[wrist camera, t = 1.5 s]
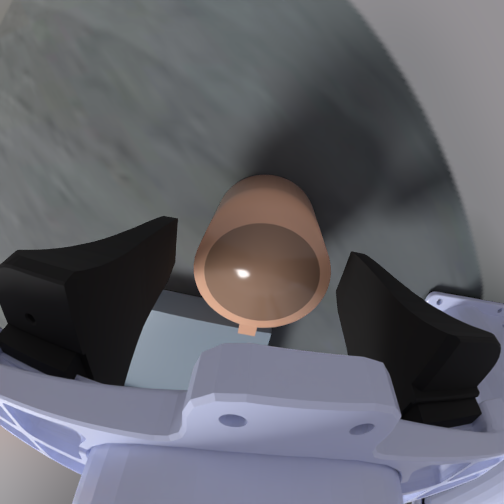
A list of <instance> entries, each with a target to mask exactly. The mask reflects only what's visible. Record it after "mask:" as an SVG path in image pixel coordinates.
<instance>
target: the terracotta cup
mask: <svg viewBox="0 0 504 504" xmlns="http://www.w3.org/2000/svg"><path fill="white" fill-rule="evenodd" d="M194 276H195V281H196V284H197V287H198V289H199V292H200V294H201V295H202V297H203V298H204V300H205V301H206V302H207V303H208V305H209V306H210V307H211V308H213V309H214V310H215V311H216V312H217V313H219V314H220V315H222V316H223V317H225V318H227V319H229V320H231V321H233V322H235V323H238V324H239V328H238V333H239V334H245V335H250V336H255V333H256V330H257V327H258V328H269V327H277V326H283V325H286V324H289V323H292V322H294V321H297V320H299V319H300V318H302V317H304V316H305V315H307V314H308V313H310V312H311V311H312V310H313V309H314V308H315V307H316V306H317V305H318V304H319V303H320V301H321V300H322V298H323V297H324V295H325V293H326V291H327V289H328V286H329V282H330V276H331V266H330V260H329V256H328V253H327V250H326V246H325V243H324V240H323V237H322V234H321V231H320V228H319V225H318V222H317V219H316V216H315V213H314V210H313V207H312V204H311V202H310V200H309V198H308V197H307V195H306V194H305V193H304V191H303V190H302V189H301V188H300V187H298V186H297V185H296V184H295V183H293V182H291V181H289V180H287V179H285V178H283V177H279V176H275V175H255V176H251V177H248V178H245V179H243V180H241V181H239V182H238V183H236V184H235V185H233V186H232V187H231V188H230V189H229V190H228V191H227V192H226V194H225V195H224V196H223V198H222V200H221V202H220V204H219V206H218V208H217V210H216V212H215V214H214V216H213V218H212V220H211V222H210V224H209V226H208V228H207V230H206V233H205V235H204V237H203V239H202V241H201V243H200V245H199V247H198V250H197V253H196V256H195V261H194Z"/></svg>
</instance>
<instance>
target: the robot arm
mask: <svg viewBox="0 0 504 504" xmlns="http://www.w3.org/2000/svg"><path fill="white" fill-rule="evenodd" d="M177 223H178V218H172V217H166V216H162V217H159V218H156V219H153V220H151V221H149V222H146V223H144V224H142V225H139V226H137V227H135V228H132V229H130V230H127V231H124V232H122V233H119V234H117V235H114V236H111V237H108V238H105V239H102V240H98V241H95V242H91V243H86V244H81V245H76V246H71V247H64V248H56V249H44V250H17V251H15V252H14V253H13V254H12V255H11V256H10V257H8V258H7V259H6V260H5V261H4V262H3V263H2V264H0V305H1V308H2V310H3V313H4V315H5V318H6V320H7V322H8V324H7V325H6V327H5V328H4V329H3V330H2V328H1V327H0V426H2V427H3V428H5V429H6V430H7V431H9V432H10V433H12V434H13V435H15V436H16V437H17V438H19V439H20V440H22V441H23V442H25V443H26V444H28V445H30V446H31V447H33V448H34V449H36V450H37V451H39V452H41V453H42V454H44V455H46V456H47V457H49V458H51V459H52V460H54V461H56V462H58V463H60V464H61V465H63V466H65V467H67V468H69V469H71V470H73V471H75V472H77V473H79V474H81V478H80V481H79V484H78V487H77V490H76V493H75V496H74V499H73V502H72V504H405V503H408V502H412V504H504V303H498V302H493V301H487V300H481V299H476V298H470V297H464V296H458V295H453V294H447V293H442V292H436V291H435V292H431V293H430V294H428V296H427V297H426V299H425V300H423V299H422V298H420V297H419V296H417V295H416V294H415V293H413V292H412V291H411V290H409V289H408V288H407V287H405V286H404V285H403V284H402V283H400V282H399V281H398V280H397V279H396V278H394V277H393V276H392V275H391V274H390V273H388V272H387V271H386V270H385V269H384V268H383V267H381V266H380V265H379V264H378V263H376V262H375V261H374V260H373V259H371V258H370V257H368V256H367V255H365V254H361V253H357V252H352V251H351V253H350V256H349V259H348V261H347V264H346V267H345V269H344V272H343V275H342V277H341V280H340V282H339V285H338V287H337V290H336V297H337V308H338V314H339V318H340V322H341V326H342V330H343V335H344V339H345V343H346V347H347V352H348V355H338V354H329V353H319V352H311V351H303V350H295V349H287V348H280V347H273V346H267V345H260V344H254V343H223V344H220V345H218V346H216V347H213V348H211V349H209V350H206V351H204V352H202V353H201V355H200V356H199V358H198V360H197V362H196V363H195V365H194V367H193V371H192V375H191V379H190V383H189V387H188V390H168V389H150V388H137V387H126V386H124V385H125V381H126V378H127V374H128V371H129V367H130V364H131V361H132V358H133V355H134V352H135V349H136V346H137V343H138V340H139V337H140V335H141V332H142V329H143V327H144V325H145V322H146V320H147V318H148V316H149V314H150V313H151V311H152V309H153V307H154V305H155V303H156V302H157V300H158V298H159V296H160V294H161V293H162V291H163V289H164V287H165V285H166V283H167V281H168V279H169V277H170V274H171V272H172V269H173V266H174V264H175V256H176V238H177ZM439 299H440V300H439ZM438 300H439V301H438Z"/></svg>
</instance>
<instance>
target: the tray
mask: <svg viewBox="0 0 504 504" xmlns="http://www.w3.org/2000/svg"><path fill="white" fill-rule="evenodd" d="M238 328H239V324H238V323H235V322H233V321H231V320H229V319H227V318H225V317H223V316H222V315H220V314H219V313H217V312H216V311H215V310H214V309H213V308H211V307H210V306H209V305H208V303H207V302H206V301H205V300H204V298H201V297H196V296H191V295H186V294H182V293H177V292H172V291H168V290H163V291H162V293H161V294H160V296H159V298H158V300H157V302H156V303H155V305H154V307H153V309H152V311H151V313H150V314H149V316H148V318H147V320H146V322H145V325H144V327H143V329H142V332H141V335H140V337H139V340H138V343H137V346H136V349H135V352H134V355H133V358H132V361H131V364H130V367H129V371H128V374H127V378H126V381H125V385H124V386H126V387H137V388H150V389H168V390H188V387H189V383H190V379H191V375H192V371H193V367H194V365H195V363H196V362H197V360H198V358H199V356H200V355H201V353H202V352H204V351H206V350H209V349H211V348H213V347H216V346H218V345H220V344H223V343H254V344H260V345H267V346H268V343H269V340H270V337H271V329H272V327H269V328H258V327H257V330H256V333H255V336H250V335H245V334H239V333H238Z"/></svg>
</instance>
